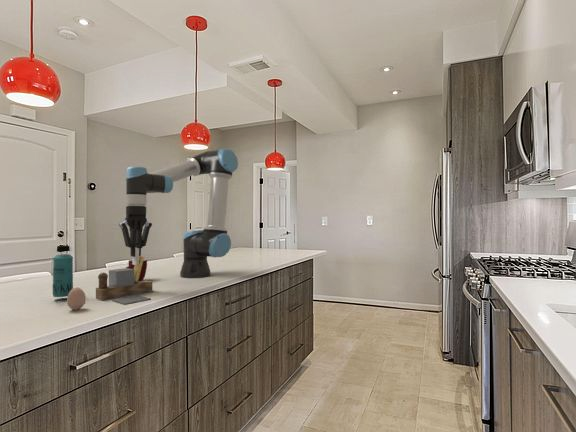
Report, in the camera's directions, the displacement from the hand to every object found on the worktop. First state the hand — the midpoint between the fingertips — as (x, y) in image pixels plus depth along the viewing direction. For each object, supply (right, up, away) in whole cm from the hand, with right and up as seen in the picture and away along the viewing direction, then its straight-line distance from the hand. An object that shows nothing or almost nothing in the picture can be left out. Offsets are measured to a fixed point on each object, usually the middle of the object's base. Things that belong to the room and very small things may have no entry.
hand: (135, 264), depth 143 cm
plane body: (-3, -11, -3) cm, 12 cm away
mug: (-11, -12, +25) cm, 30 cm away
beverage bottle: (-22, -12, -10) cm, 27 cm away
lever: (0, -7, -1) cm, 7 cm away
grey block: (-4, -7, -4) cm, 9 cm away
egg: (-9, -12, -25) cm, 29 cm away
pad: (+4, -11, -12) cm, 17 cm away
